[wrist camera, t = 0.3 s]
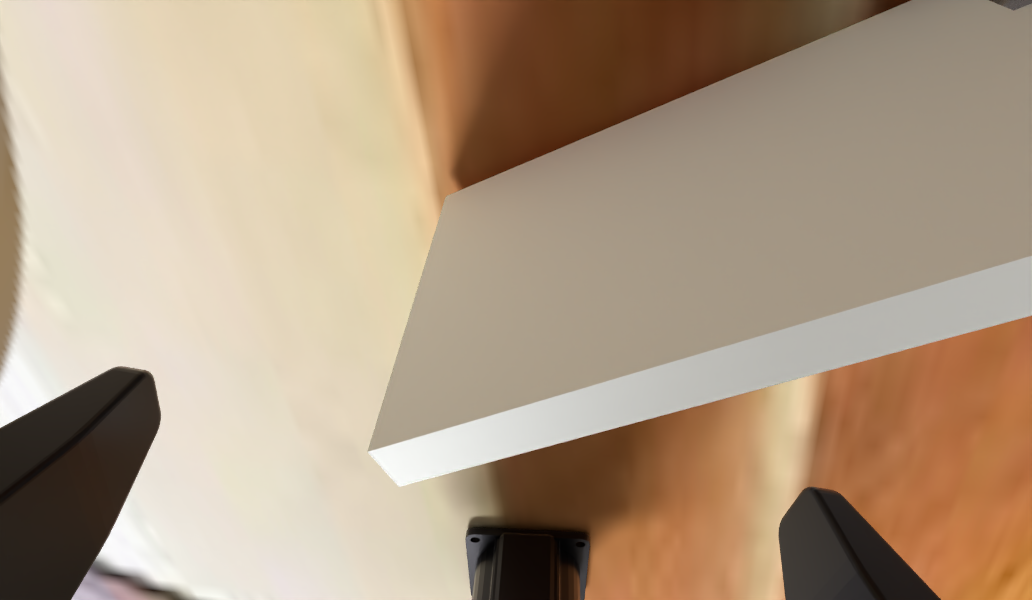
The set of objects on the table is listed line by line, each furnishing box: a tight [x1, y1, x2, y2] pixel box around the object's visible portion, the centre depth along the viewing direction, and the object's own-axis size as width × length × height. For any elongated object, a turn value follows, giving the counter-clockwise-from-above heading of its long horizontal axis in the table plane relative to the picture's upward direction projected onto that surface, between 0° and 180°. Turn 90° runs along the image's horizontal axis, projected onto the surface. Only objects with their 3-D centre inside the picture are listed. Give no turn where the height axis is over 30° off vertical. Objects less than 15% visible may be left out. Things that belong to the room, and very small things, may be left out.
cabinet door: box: [368, 0, 1032, 487], centre depth 15 cm, size 2×17×11 cm, turn 116°
